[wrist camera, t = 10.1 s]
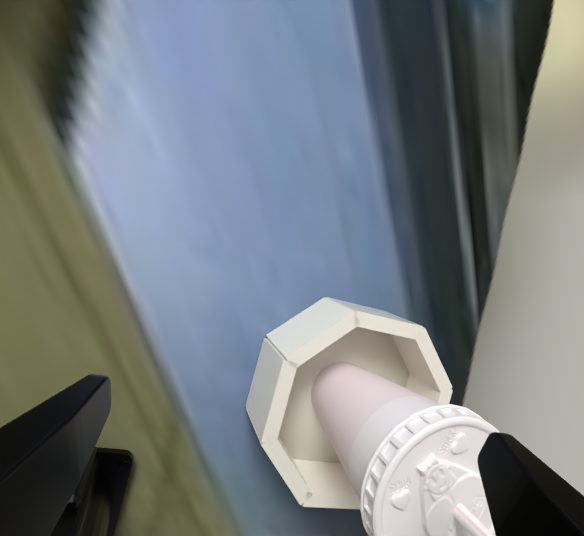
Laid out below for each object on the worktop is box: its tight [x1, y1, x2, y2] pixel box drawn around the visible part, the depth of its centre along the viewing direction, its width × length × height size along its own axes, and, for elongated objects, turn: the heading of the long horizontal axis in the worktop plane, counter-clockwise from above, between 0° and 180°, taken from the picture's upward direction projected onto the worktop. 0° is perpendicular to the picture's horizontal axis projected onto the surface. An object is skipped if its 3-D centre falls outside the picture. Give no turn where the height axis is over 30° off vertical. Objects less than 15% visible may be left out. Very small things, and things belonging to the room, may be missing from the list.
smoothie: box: [311, 362, 500, 536], centre depth 17 cm, size 6×6×14 cm
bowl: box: [246, 297, 453, 509], centre depth 22 cm, size 11×11×4 cm
